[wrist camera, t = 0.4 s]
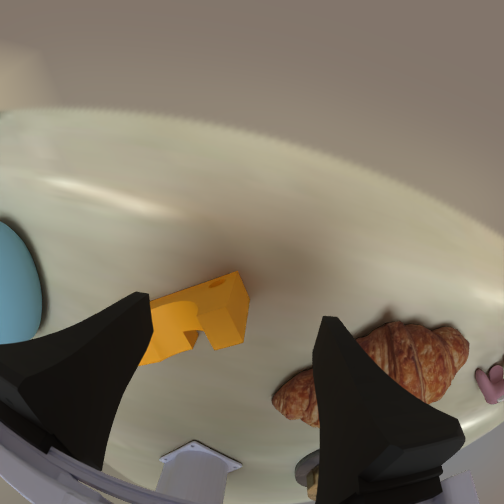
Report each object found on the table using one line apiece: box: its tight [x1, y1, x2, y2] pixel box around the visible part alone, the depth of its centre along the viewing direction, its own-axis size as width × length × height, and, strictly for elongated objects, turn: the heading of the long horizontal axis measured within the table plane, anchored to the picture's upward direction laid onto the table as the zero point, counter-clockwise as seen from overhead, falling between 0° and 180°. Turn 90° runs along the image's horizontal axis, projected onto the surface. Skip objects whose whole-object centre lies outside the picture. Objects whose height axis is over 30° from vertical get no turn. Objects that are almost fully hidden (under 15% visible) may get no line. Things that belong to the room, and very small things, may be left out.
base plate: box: [295, 449, 320, 487], centre depth 28 cm, size 13×13×1 cm
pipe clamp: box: [138, 271, 250, 366], centre depth 20 cm, size 12×4×6 cm, turn 112°
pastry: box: [272, 321, 469, 428], centre depth 20 cm, size 17×15×8 cm
